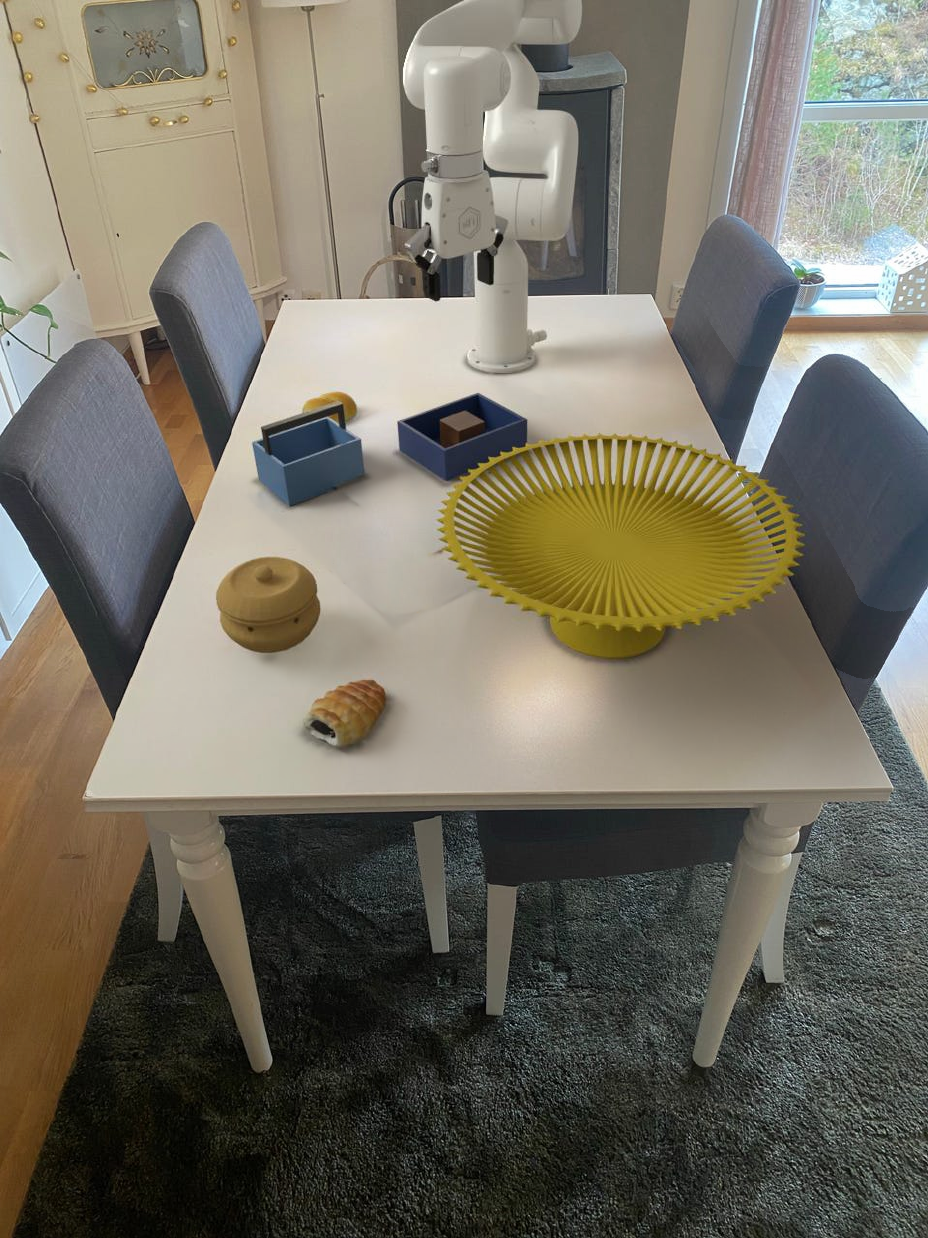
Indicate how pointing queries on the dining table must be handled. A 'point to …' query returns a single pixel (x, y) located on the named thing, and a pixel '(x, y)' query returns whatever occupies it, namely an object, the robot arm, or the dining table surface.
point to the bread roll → (333, 397)
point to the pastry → (346, 713)
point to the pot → (268, 604)
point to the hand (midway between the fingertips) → (459, 290)
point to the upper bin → (308, 454)
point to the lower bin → (447, 463)
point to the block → (460, 428)
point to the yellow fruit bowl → (618, 543)
